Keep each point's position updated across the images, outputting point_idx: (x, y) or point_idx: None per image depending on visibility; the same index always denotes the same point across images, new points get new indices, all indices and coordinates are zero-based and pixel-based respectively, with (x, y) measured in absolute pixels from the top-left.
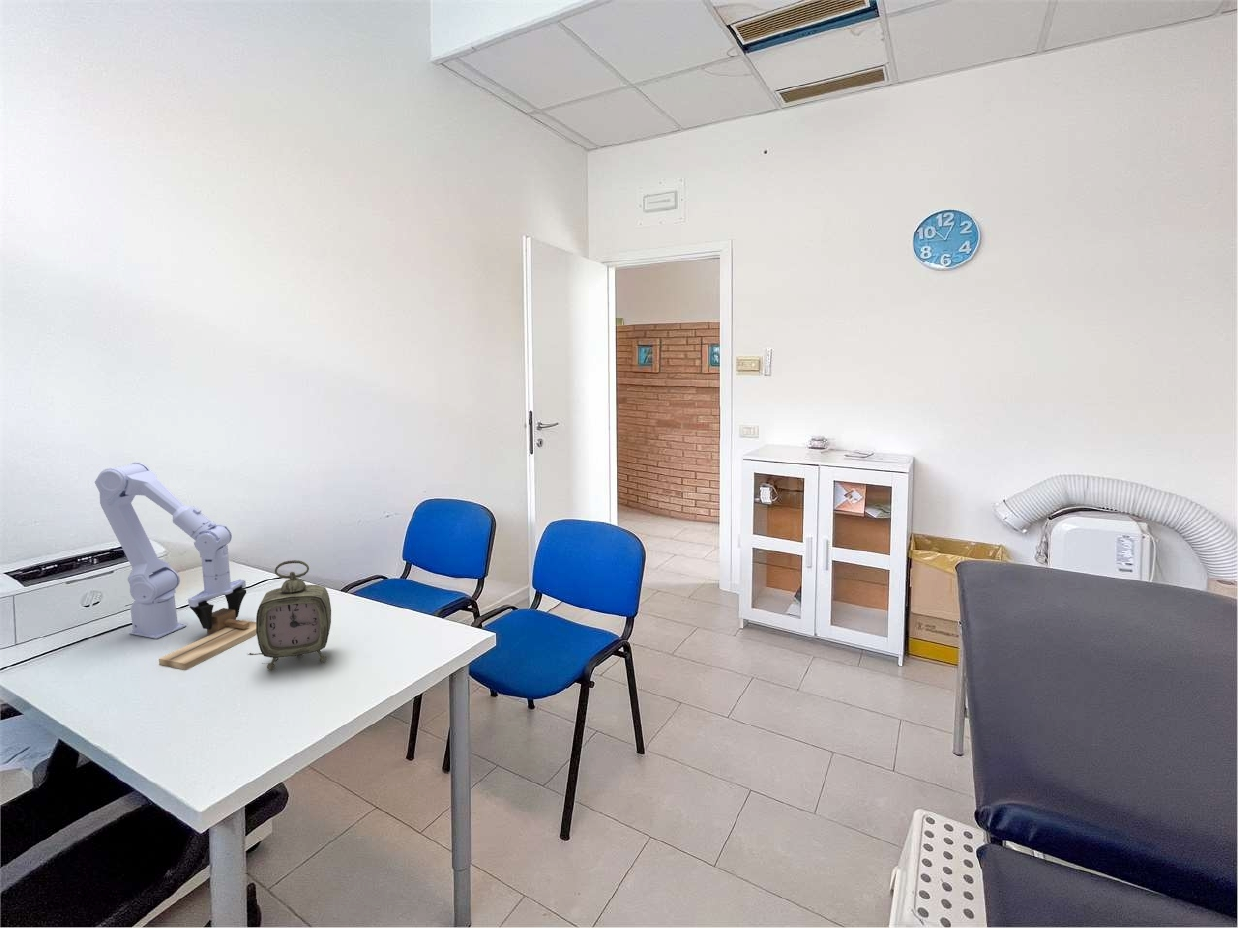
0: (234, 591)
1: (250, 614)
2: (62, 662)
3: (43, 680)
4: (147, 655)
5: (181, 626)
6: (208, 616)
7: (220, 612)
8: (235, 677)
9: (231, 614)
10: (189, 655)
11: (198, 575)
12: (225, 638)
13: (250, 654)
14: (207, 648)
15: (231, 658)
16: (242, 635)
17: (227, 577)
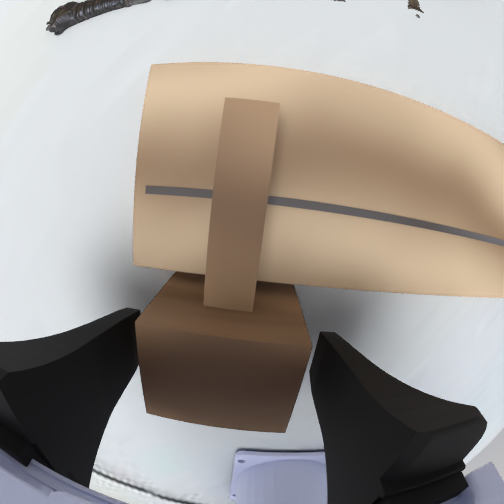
0: (28, 444)
1: (60, 308)
2: None
3: (495, 425)
4: (454, 379)
5: (257, 456)
6: (384, 379)
7: (215, 390)
8: (500, 10)
9: (179, 315)
10: None
11: None
12: (396, 157)
13: (416, 3)
14: (484, 174)
15: (461, 55)
16: (340, 79)
17: None
